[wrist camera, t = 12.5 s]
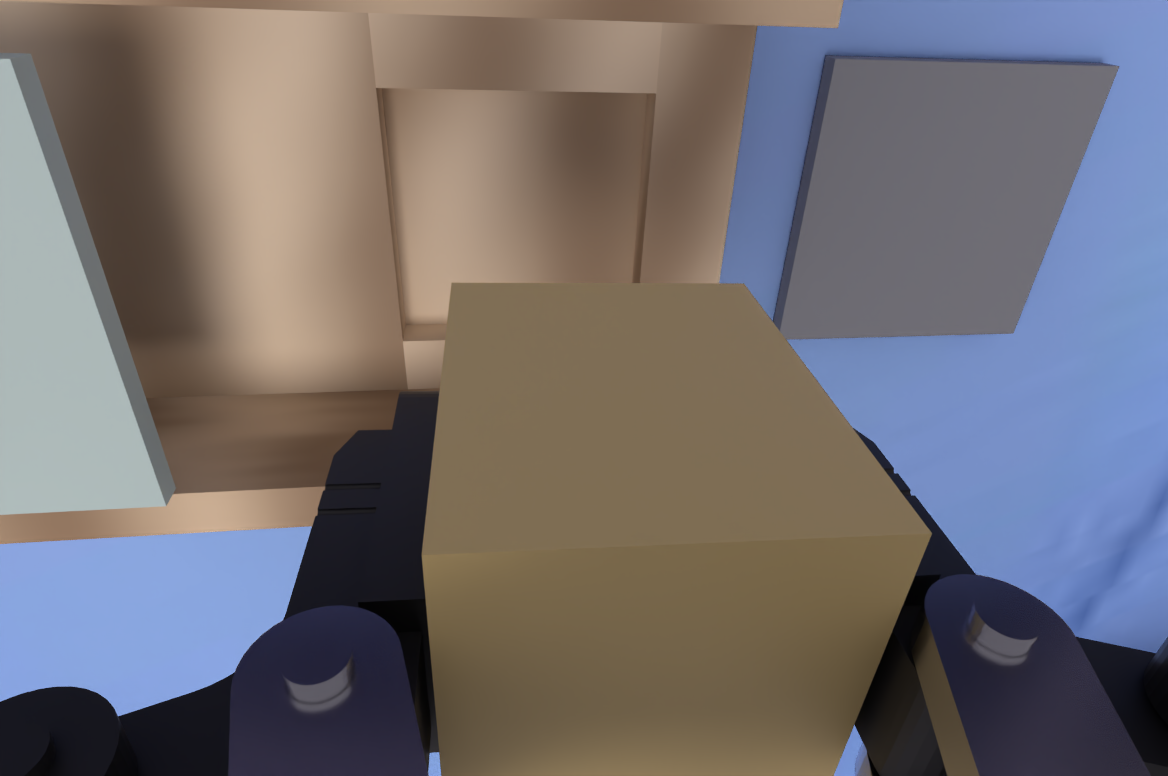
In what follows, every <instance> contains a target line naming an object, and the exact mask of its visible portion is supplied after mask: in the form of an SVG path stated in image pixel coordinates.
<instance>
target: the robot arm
mask: <svg viewBox="0 0 1168 776" xmlns="http://www.w3.org/2000/svg"><path fill="white" fill-rule="evenodd" d="M439 392H440V391H401V392H400V393H399V397H398V401H397V406H396V411H395V416H394V421H393V427H392V430H358V431H357V432H356V433H355V434H354V435H353V436H352V437H351V438H350V439H349V440H348V441H347V442H346V443H345V444H344V445H343V446H342V447H341V448H340V449H339V450H338V451H337V452H336V453H335V455H334V456H333V459H332V463H331V466H330V469H329V473H328V476H327V479H326V483H325V490H323V492H322V496H321V499H320V502H319V506H318V509H317V510H318V514H317V516H315V519H314V522H313V526H312V529H311V532H310V535H309V539H308V542H307V545H306V549H305V552H304V555H303V559H302V562H301V565H300V569H299V572H298V575H297V579H296V582H295V585H294V588H293V592H292V595H291V598H290V602H289V605H288V608H287V612H286V614H285V617H284V619H283V621H281V622H280V623H278V624H276V625H274V626H273V627H272V628H270V629H269V630H268V631H266V632H265V633H264V634H262V635H261V636H260V637H259V638H258V639H257V640H256V641H255V642H254V643H253V644H252V645H251V646H250V648H249V649H248V650H247V651H246V653H245V654H244V655H243V657H242V659H241V661H240V662H239V664H238V666H237V668H236V671H235V672H234V673H233V674H231V675H230V676H228V677H226V678H224V679H222V680H220V681H218V682H216V683H214V684H212V685H210V686H208V687H205V688H203V689H200V690H197V691H195V692H192V693H189V694H186V695H183V696H180V697H177V698H173V699H170V700H167V701H164V702H161V703H158V704H155V705H152V706H149V707H146V708H143V709H140V710H137V711H134V712H131V713H128V714H125V715H121V716H117V714H116V711H115V709H114V708H113V706H112V705H111V704H110V703H109V702H108V700H107V699H105V698H104V697H102V696H101V695H99V694H98V693H96V692H93V691H90V690H87V689H84V688H77V687H51V688H44V689H38V690H35V691H31V692H27V693H23V694H20V695H17V696H14V697H12V698H9V699H6V700H4V701H1V702H0V776H429V775H428V766H429V753H432V752H439V742H438V731H437V720H436V709H435V698H434V687H433V676H432V665H431V654H430V643H429V632H428V621H427V610H426V599H425V588H424V577H423V565H422V547H423V538H424V529H425V519H426V510H427V501H428V492H429V483H430V474H431V465H432V456H433V446H434V437H435V428H436V419H437V410H438V401H439ZM853 429H854V428H853ZM854 430H855V429H854ZM855 432H856V433H857V434H858V436H859V437H860V438H861V440H862V441H863V442H864V444H865V445H866V446H867V448H868V449H869V450H870V452H871V453H872V454H873V456H874V457H875V458H876V460H877V461H878V462H879V464H880V465H881V466H882V468H883V469H884V470H885V472H886V473H887V474H888V476H889V477H890V478H891V480H892V481H893V482H894V484H895V485H896V486H897V488H898V489H899V490H900V492H901V493H902V494H903V496H904V497H905V498H906V500H907V501H908V502H909V504H910V505H911V506H912V507H913V509H914V510H915V511H916V513H917V514H918V515H919V517H920V518H921V519H922V521H923V522H924V523H925V525H926V526H927V527H928V529H929V530H930V531H931V533H932V535H931V537H930V540H929V542H928V545H927V547H926V550H925V552H924V555H923V557H922V559H921V562H920V564H919V567H918V569H917V572H916V574H915V577H914V579H913V582H912V584H911V586H910V589H909V591H908V594H907V596H906V599H905V601H904V604H903V606H902V609H901V611H900V613H899V616H898V618H897V621H896V623H895V626H894V628H893V631H892V633H891V636H890V638H889V640H888V643H887V645H886V648H885V650H884V653H883V655H882V658H881V660H880V663H879V665H878V667H877V670H876V672H875V675H874V677H873V680H872V682H871V685H870V687H869V690H868V692H867V694H866V697H865V699H864V702H863V704H862V707H861V709H860V712H859V714H858V717H857V719H856V721H855V726H856V728H857V731H858V733H859V735H860V737H861V739H862V741H863V743H862V745H861V748H860V750H859V752H858V755H857V758H856V763H855V776H1168V637H1167V639H1166V640H1165V642H1164V643H1163V644H1162V646H1161V647H1160V649H1159V650H1158V652H1157V653H1151V652H1146V651H1142V650H1137V649H1132V648H1127V647H1122V646H1117V645H1113V644H1108V643H1103V642H1098V641H1093V640H1088V639H1084V638H1079V637H1075V635H1074V633H1073V632H1072V630H1071V629H1070V628H1069V626H1068V625H1067V624H1066V623H1065V622H1064V621H1063V619H1062V618H1061V617H1060V616H1059V615H1057V614H1056V613H1055V612H1054V611H1053V610H1052V609H1051V608H1050V607H1048V606H1047V605H1046V604H1044V603H1043V602H1042V601H1040V600H1039V599H1037V598H1036V597H1034V596H1032V595H1031V594H1029V593H1028V592H1026V591H1024V590H1022V589H1020V588H1018V587H1016V586H1013V585H1011V584H1008V583H1006V582H1004V581H1000V580H997V579H994V578H990V577H985V576H980V575H976V574H975V573H974V572H973V570H972V569H971V568H970V566H969V565H968V564H967V562H966V561H965V560H964V559H963V557H962V556H961V555H960V553H959V552H958V551H957V550H956V548H955V547H954V546H953V544H952V543H951V542H950V540H949V539H948V538H947V537H946V535H945V534H944V533H943V531H942V530H941V529H940V527H939V526H938V525H937V524H936V522H935V521H934V520H933V518H932V517H931V516H930V515H929V513H928V512H927V511H926V509H925V508H924V507H923V505H922V504H921V503H920V502H919V500H918V499H917V498H916V496H911V494H910V489H909V487H908V486H907V485H906V483H905V482H904V481H903V480H902V478H901V477H900V476H899V474H894V468H893V467H892V465H891V464H890V463H889V461H888V460H887V459H886V458H885V456H884V455H883V454H882V452H881V451H880V450H879V449H878V447H877V446H876V445H875V443H874V442H872V441H871V440H870V439H868V438H867V437H865V436H864V435H862V434H861V433H860V432H858V431H857V430H855Z"/></svg>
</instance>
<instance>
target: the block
mask: <svg viewBox="0 0 1168 776" xmlns="http://www.w3.org/2000/svg"><path fill="white" fill-rule="evenodd" d="M931 535H932V533H931V531H930V530H929V529H928V527H927V526H926V525H925V523H924V522H923V521H922V519H921V518H920V517H919V515H918V514H917V513H916V511H915V510H914V509H913V507H912V506H911V505H910V504H909V502H908V501H907V500H906V498H905V497H904V496H903V494H902V493H901V492H900V490H899V489H898V488H897V486H896V485H895V484H894V482H893V481H892V480H891V478H890V477H889V476H888V474H887V473H886V472H885V470H884V469H883V468H882V466H881V465H880V464H879V462H878V461H877V460H876V458H875V457H874V456H873V454H872V453H871V452H870V450H869V449H868V448H867V446H866V445H865V444H864V442H863V441H862V440H861V438H860V437H859V436H858V434H857V433H856V432H855V430H854V429H853V428H852V426H851V425H850V424H849V423H848V421H847V420H846V419H845V417H844V416H843V415H842V413H841V412H840V411H839V409H838V408H837V407H836V405H835V404H834V403H833V401H832V400H831V399H830V397H829V396H828V395H827V393H826V392H825V391H824V389H823V388H822V387H821V385H820V384H819V383H818V381H817V380H816V379H815V377H814V376H813V375H812V373H811V372H810V371H809V369H808V368H807V367H806V365H805V364H804V363H803V361H802V360H801V359H800V357H799V356H798V355H797V353H796V352H795V351H794V349H793V348H792V347H791V345H790V344H789V343H788V342H787V340H786V339H785V338H784V336H783V335H782V334H781V332H780V331H779V330H778V328H777V327H776V326H775V324H774V323H773V322H772V320H771V319H770V318H769V316H768V315H767V314H766V312H765V311H764V310H763V308H762V307H761V306H760V304H759V303H758V302H757V300H756V299H755V298H754V296H753V295H752V294H751V292H750V291H749V290H748V288H747V287H746V286H745V284H724V283H451V291H450V300H449V310H448V319H447V328H446V337H445V346H444V355H443V364H442V373H441V383H440V392H439V401H438V410H437V419H436V428H435V437H434V446H433V456H432V465H431V474H430V483H429V492H428V501H427V510H426V519H425V529H424V538H423V547H422V565H423V577H424V588H425V599H426V610H427V621H428V632H429V643H430V654H431V665H432V676H433V687H434V698H435V709H436V720H437V731H438V742H439V754H440V765H441V776H833V775H834V773H835V771H836V768H837V766H838V763H839V761H840V758H841V756H842V753H843V751H844V748H845V746H846V744H847V741H848V739H849V736H850V734H851V731H852V729H853V726H854V724H855V721H856V719H857V717H858V714H859V712H860V709H861V707H862V704H863V702H864V699H865V697H866V694H867V692H868V690H869V687H870V685H871V682H872V680H873V677H874V675H875V672H876V670H877V667H878V665H879V663H880V660H881V658H882V655H883V653H884V650H885V648H886V645H887V643H888V640H889V638H890V636H891V633H892V631H893V628H894V626H895V623H896V621H897V618H898V616H899V613H900V611H901V609H902V606H903V604H904V601H905V599H906V596H907V594H908V591H909V589H910V586H911V584H912V582H913V579H914V577H915V574H916V572H917V569H918V567H919V564H920V562H921V559H922V557H923V555H924V552H925V550H926V547H927V545H928V542H929V540H930V537H931Z"/></svg>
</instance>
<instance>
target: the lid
mask: <svg viewBox="0 0 1168 776" xmlns="http://www.w3.org/2000/svg"><path fill="white" fill-rule="evenodd" d="M175 489H176V487H175V484H174V481H173V478H172V475H171V472H170V469H169V466H168V463H167V460H166V457H165V454H164V451H163V448H162V445H161V442H160V439H159V436H158V433H157V430H156V427H155V424H154V421H153V418H152V415H151V412H150V409H149V406H148V403H147V400H146V397H145V394H144V391H143V388H142V385H141V382H140V379H139V376H138V373H137V370H136V367H135V364H134V361H133V358H132V355H131V352H130V349H129V346H128V343H127V340H126V337H125V334H124V331H123V328H122V325H121V322H120V319H119V316H118V313H117V310H116V307H115V304H114V301H113V298H112V295H111V292H110V289H109V286H108V283H107V280H106V277H105V274H104V271H103V268H102V265H101V262H100V259H99V256H98V253H97V250H96V247H95V244H94V241H93V238H92V235H91V232H90V229H89V226H88V223H87V220H86V217H85V214H84V211H83V208H82V205H81V202H80V199H79V196H78V193H77V190H76V187H75V184H74V181H73V178H72V175H71V172H70V169H69V166H68V163H67V160H66V157H65V154H64V151H63V148H62V145H61V142H60V139H59V136H58V133H57V131H56V128H55V125H54V122H53V119H52V116H51V113H50V110H49V107H48V104H47V101H46V98H45V95H44V92H43V89H42V86H41V83H40V80H39V77H38V74H37V71H36V68H35V65H34V62H33V59H32V56H31V54H28V53H0V515H9V514H28V513H47V512H66V511H85V510H105V509H124V508H143V507H162V506H167V504H168V502H169V500H170V498H171V497H172V495H173V493H174V491H175Z"/></svg>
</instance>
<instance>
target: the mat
mask: <svg viewBox="0 0 1168 776" xmlns="http://www.w3.org/2000/svg"><path fill="white" fill-rule="evenodd" d="M1118 68H1119V66H1115V65H1110V64H1105V63H1080V62H1044V61H1007V60H970V59H933V58H896V57H859V56H826V57H825V62H824V67H823V72H822V77H821V83H820V88H819V93H818V98H817V103H816V108H815V113H814V118H813V123H812V128H811V133H810V138H809V143H808V148H807V153H806V158H805V163H804V168H803V174H802V179H801V184H800V189H799V194H798V199H797V204H796V209H795V214H794V219H793V224H792V229H791V234H790V239H789V244H788V249H787V254H786V259H785V265H784V270H783V275H782V280H781V285H780V290H779V295H778V300H777V305H776V310H775V315H774V320H773V323H774V324H775V326H776V327H777V328H778V330H779V331H780V332H781V334H782V335H783V336H784V338H785V339H823V338H860V337H898V336H935V335H972V334H1010V333H1014V330H1015V328H1016V325H1017V323H1018V320H1019V318H1020V315H1021V313H1022V310H1023V308H1024V305H1025V303H1026V300H1027V297H1028V295H1029V292H1030V290H1031V287H1032V285H1033V282H1034V280H1035V277H1036V275H1037V272H1038V270H1039V267H1040V265H1041V262H1042V260H1043V257H1044V255H1045V252H1046V250H1047V247H1048V245H1049V242H1050V240H1051V237H1052V235H1053V232H1054V230H1055V227H1056V224H1057V222H1058V219H1059V217H1060V214H1061V212H1062V209H1063V207H1064V204H1065V202H1066V199H1067V197H1068V194H1069V192H1070V189H1071V187H1072V184H1073V182H1074V179H1075V177H1076V174H1077V172H1078V169H1079V167H1080V164H1081V162H1082V159H1083V157H1084V154H1085V151H1086V149H1087V146H1088V144H1089V141H1090V139H1091V136H1092V134H1093V131H1094V129H1095V126H1096V124H1097V121H1098V119H1099V116H1100V114H1101V111H1102V109H1103V106H1104V104H1105V101H1106V99H1107V96H1108V94H1109V91H1110V89H1111V86H1112V83H1113V81H1114V78H1115V76H1116V73H1117V71H1118Z"/></svg>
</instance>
